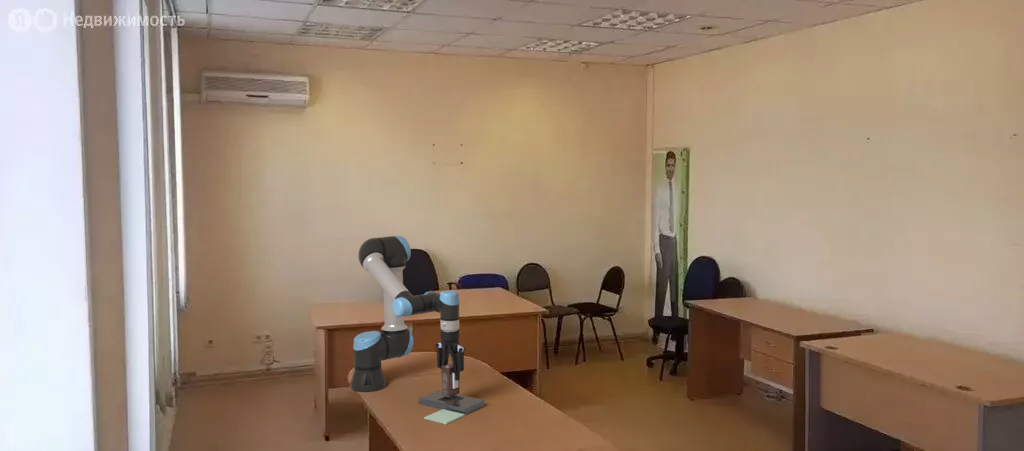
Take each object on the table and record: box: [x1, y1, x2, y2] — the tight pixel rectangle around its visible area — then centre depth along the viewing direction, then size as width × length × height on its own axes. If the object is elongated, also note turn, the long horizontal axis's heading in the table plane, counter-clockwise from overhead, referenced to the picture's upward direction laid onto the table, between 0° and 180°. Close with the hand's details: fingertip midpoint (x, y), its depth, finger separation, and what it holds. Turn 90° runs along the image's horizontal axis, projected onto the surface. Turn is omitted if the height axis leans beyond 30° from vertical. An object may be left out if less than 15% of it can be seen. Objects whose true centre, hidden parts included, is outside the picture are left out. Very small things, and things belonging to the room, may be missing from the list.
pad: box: [423, 409, 466, 425], centre depth 286 cm, size 11×11×1 cm
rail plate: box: [418, 389, 485, 416], centre depth 300 cm, size 24×12×2 cm, turn 55°
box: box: [441, 362, 460, 397], centre depth 300 cm, size 6×4×12 cm
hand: (450, 386), depth 300 cm, fingers closed on box, 4 cm apart
